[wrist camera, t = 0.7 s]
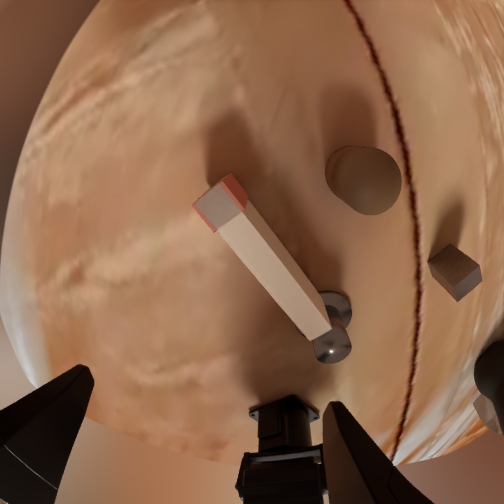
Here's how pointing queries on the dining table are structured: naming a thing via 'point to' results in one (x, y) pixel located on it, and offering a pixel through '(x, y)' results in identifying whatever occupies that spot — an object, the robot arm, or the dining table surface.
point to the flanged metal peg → (334, 329)
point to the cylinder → (364, 178)
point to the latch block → (455, 272)
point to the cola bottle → (492, 378)
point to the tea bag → (487, 413)
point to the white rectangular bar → (263, 254)
